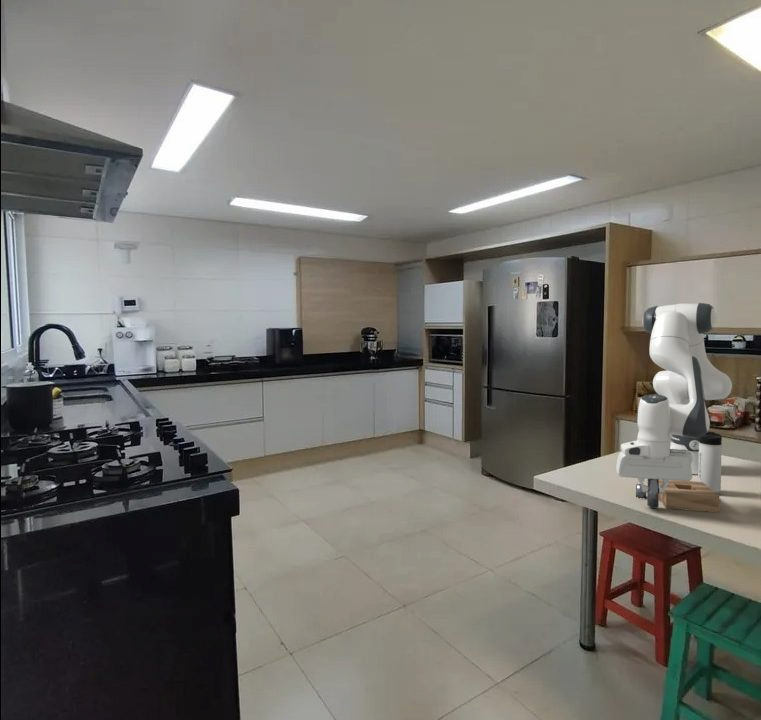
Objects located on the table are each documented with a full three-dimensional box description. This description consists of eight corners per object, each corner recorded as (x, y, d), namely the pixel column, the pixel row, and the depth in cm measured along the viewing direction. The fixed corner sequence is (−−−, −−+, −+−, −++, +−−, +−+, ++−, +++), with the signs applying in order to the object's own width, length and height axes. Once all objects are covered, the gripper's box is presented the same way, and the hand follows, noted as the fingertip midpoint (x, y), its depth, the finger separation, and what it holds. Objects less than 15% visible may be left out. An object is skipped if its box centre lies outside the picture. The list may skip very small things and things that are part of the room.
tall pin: (646, 503, 147) (646, 475, 147) (657, 504, 146) (657, 476, 146) (648, 507, 144) (648, 478, 144) (659, 507, 144) (660, 479, 143)
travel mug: (721, 491, 159) (722, 432, 158) (719, 496, 154) (721, 436, 153) (699, 487, 163) (700, 430, 162) (696, 492, 158) (698, 433, 157)
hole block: (654, 493, 158) (654, 478, 158) (702, 496, 154) (702, 481, 154) (666, 508, 145) (666, 492, 145) (719, 512, 141) (719, 496, 141)
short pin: (634, 495, 157) (635, 483, 157) (645, 496, 156) (645, 484, 156) (637, 498, 154) (637, 486, 154) (647, 499, 153) (647, 487, 153)
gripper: (688, 447, 144) (688, 491, 145) (615, 444, 150) (615, 486, 151) (696, 452, 138) (695, 498, 139) (619, 449, 144) (619, 493, 145)
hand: (652, 492), depth 145 cm, fingers closed on tall pin, 3 cm apart
